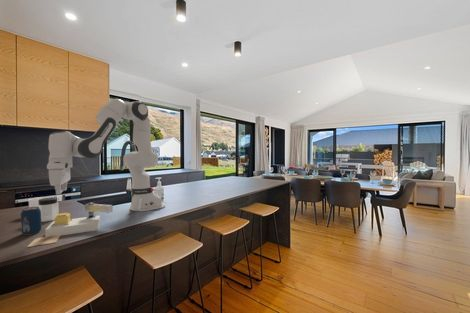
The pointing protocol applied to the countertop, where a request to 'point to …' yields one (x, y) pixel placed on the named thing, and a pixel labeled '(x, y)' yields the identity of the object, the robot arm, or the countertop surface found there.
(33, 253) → the countertop surface
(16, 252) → the countertop surface
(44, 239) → the cork pad
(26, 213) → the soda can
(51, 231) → the latch box
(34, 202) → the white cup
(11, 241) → the countertop surface
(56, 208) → the jar
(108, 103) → the robot arm
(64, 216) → the snap cover
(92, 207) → the t key
